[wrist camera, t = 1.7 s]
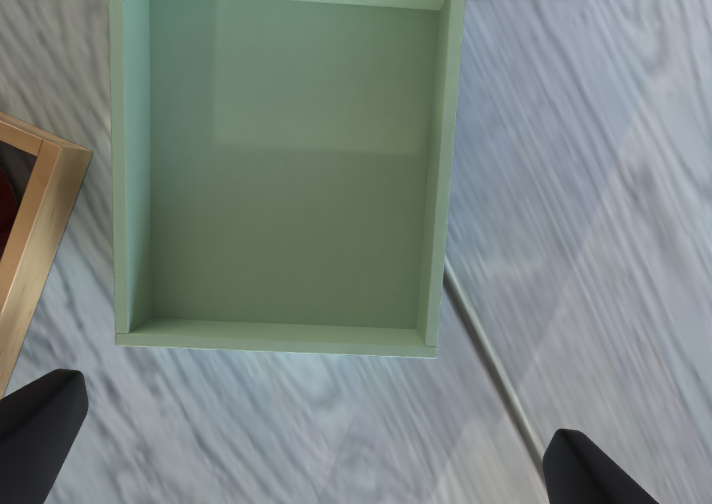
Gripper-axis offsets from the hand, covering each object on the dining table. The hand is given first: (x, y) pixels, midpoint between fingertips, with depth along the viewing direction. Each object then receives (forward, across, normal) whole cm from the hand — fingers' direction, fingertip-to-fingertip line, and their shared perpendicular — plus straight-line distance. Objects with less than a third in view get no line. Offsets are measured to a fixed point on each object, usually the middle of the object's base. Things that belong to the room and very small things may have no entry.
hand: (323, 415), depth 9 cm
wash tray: (+15, +3, 0) cm, 15 cm away
